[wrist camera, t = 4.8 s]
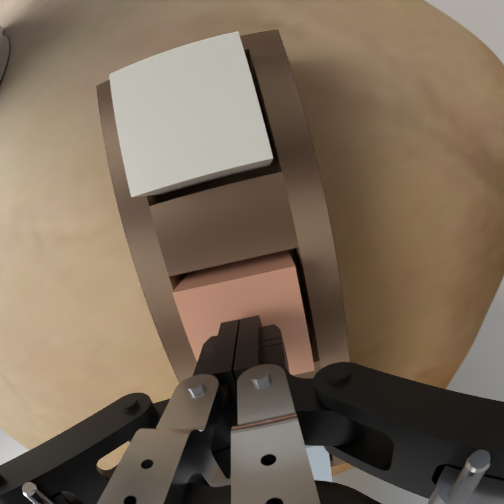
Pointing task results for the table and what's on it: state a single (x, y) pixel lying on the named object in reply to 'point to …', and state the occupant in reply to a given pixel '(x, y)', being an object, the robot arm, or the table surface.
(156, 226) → the button panel
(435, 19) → the table surface
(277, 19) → the table surface
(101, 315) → the table surface
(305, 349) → the pink square block
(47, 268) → the table surface
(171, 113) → the cream button
